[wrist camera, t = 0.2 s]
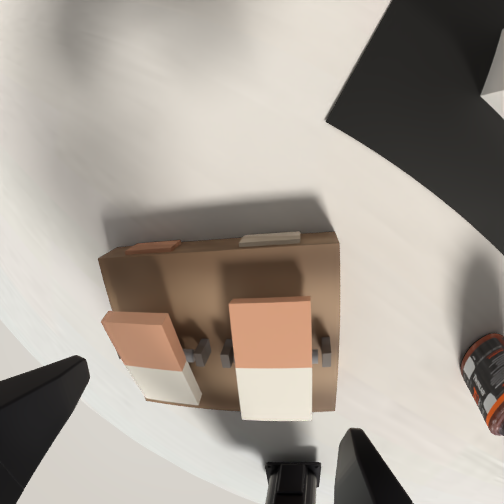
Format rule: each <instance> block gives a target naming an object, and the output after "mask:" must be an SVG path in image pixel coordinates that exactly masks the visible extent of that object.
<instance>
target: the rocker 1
mask: <svg viewBox="0 0 504 504" xmlns="http://www.w3.org/2000/svg"><path fill="white" fill-rule="evenodd" d="M101 323H102V325H103V327H104V329H105V331H106V332H107V334H108V336H109V338H110V340H111V342H112V343H113V345H114V347H115V349H116V351H117V352H118V354H119V356H120V358H121V359H122V361H123V363H124V364H125V366H126V368H127V369H128V371H129V373H130V374H131V376H132V378H133V379H134V381H135V382H136V384H137V385H138V387H139V389H140V390H141V392H142V393H143V395H144V396H145V398H147V399H154V400H160V401H167V402H174V403H182V404H190V405H199V403H200V399H201V396H202V393H201V391H200V388H199V386H198V384H197V382H196V380H195V377H194V375H193V373H192V370H191V368H190V366H189V363H188V362H194V361H195V358H194V355H193V353H194V351H195V350H194V349H182V347H181V344H180V342H179V339H178V337H177V334H176V332H175V329H174V327H173V324H172V322H171V319H170V316H169V314H168V313H144V312H119V311H108V312H107V314H106V315H105V316H104V318H103V319H102V321H101Z"/></svg>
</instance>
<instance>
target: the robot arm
mask: <svg viewBox="0 0 504 504" xmlns="http://www.w3.org/2000/svg"><path fill="white" fill-rule="evenodd" d="M89 379H90V374H89V369H88V365H87V361H86V359H84V358H82V357H80V356H78V355H74V356H71V357H69V358H66V359H63V360H60V361H57V362H55V363H52V364H49V365H46V366H43V367H40V368H37V369H35V370H32V371H29V372H26V373H23V374H20V375H17V376H14V377H11V378H8V379H6V380H2V381H0V504H16V502H17V501H18V499H19V497H20V496H21V494H22V492H23V491H24V488H25V487H26V485H27V483H28V482H29V480H30V478H31V477H32V475H33V473H34V472H35V470H36V469H37V467H38V465H39V464H40V462H41V460H42V459H43V457H44V456H45V454H46V453H47V451H48V449H49V448H50V446H51V445H52V443H53V442H54V440H55V438H56V437H57V435H58V434H59V432H60V431H61V429H62V428H63V426H64V425H65V423H66V422H67V420H68V419H69V417H70V415H71V414H72V412H73V411H74V409H75V407H76V405H77V403H78V401H79V399H80V397H81V395H82V393H83V391H84V389H85V388H86V386H87V384H88V382H89ZM265 469H266V474H267V480H268V485H269V486H268V492H267V498H266V503H265V504H315V503H316V488H317V487H319V482H320V472H321V463H319V462H306V463H284V462H267V463H266V464H265ZM334 504H414V503H412V500H411V499H410V497H409V496H408V494H407V493H406V492H405V490H404V489H403V487H402V486H401V484H400V483H399V482H398V480H397V479H396V477H395V476H394V474H393V473H392V472H391V470H390V469H389V467H388V466H387V464H386V463H385V461H384V460H383V459H382V457H381V456H380V454H379V453H378V451H377V450H376V448H375V447H374V445H373V444H372V443H371V441H370V440H369V438H368V437H367V435H366V434H365V432H364V431H363V430H362V429H360V428H349V429H348V431H347V432H346V434H345V436H344V437H343V439H342V440H341V442H340V445H339V451H338V460H337V469H336V477H335V486H334Z"/></svg>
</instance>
